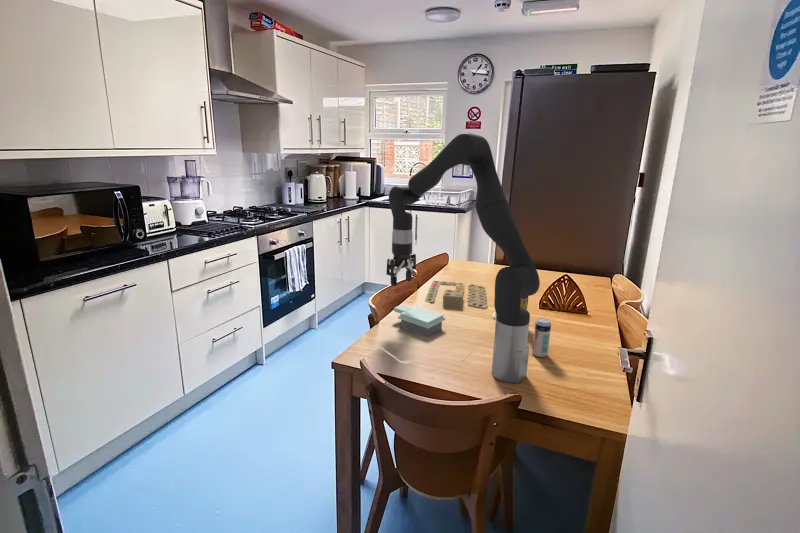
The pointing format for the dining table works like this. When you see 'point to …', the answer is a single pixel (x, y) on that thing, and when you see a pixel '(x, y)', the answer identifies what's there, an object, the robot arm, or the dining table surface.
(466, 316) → the dining table surface
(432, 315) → the lid
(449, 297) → the pile of dominoes
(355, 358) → the dining table surface
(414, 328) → the tub
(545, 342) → the beer can
